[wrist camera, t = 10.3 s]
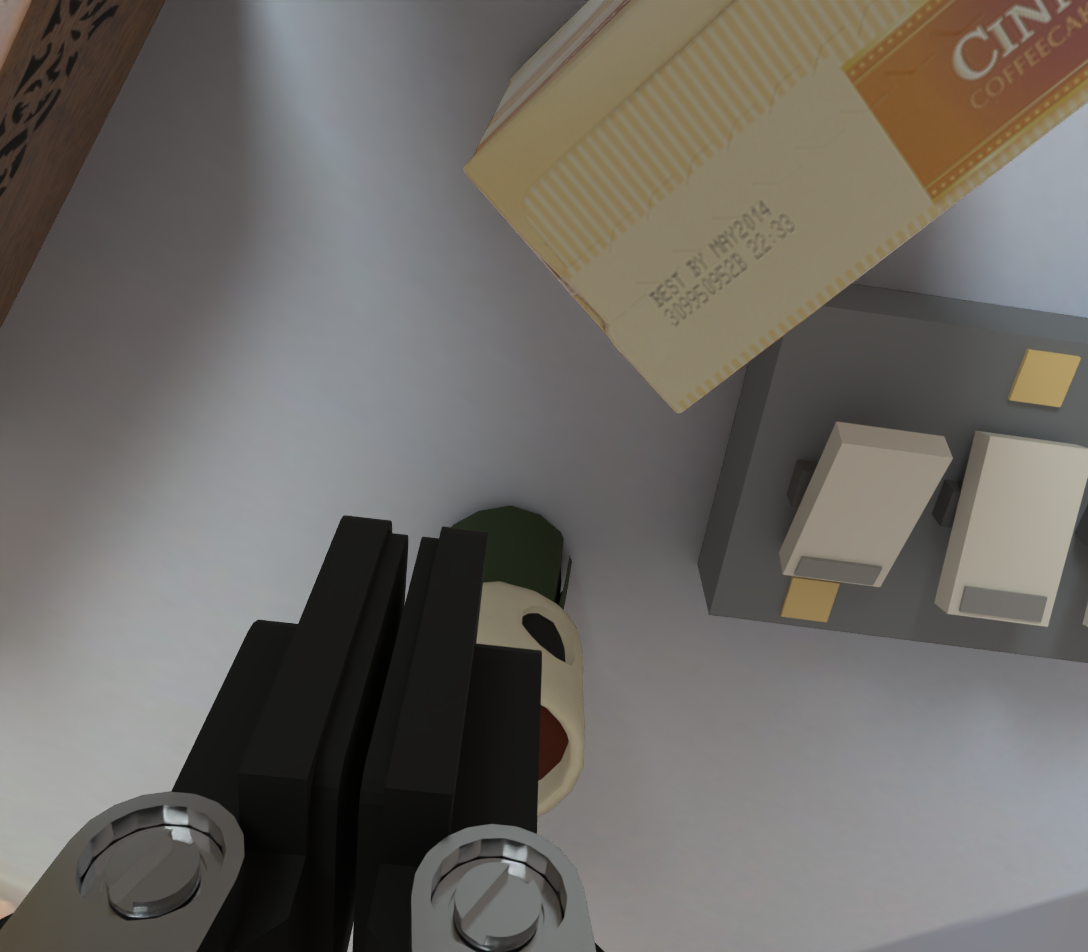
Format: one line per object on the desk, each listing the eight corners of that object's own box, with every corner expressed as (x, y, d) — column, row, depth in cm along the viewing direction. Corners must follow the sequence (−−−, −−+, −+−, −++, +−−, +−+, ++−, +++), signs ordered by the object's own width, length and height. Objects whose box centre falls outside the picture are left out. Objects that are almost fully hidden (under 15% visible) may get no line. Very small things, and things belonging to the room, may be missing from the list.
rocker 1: (836, 421, 34) (843, 445, 33) (944, 436, 34) (954, 460, 33) (778, 552, 39) (783, 577, 38) (874, 565, 39) (881, 590, 38)
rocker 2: (975, 430, 36) (992, 436, 35) (1076, 444, 36) (1097, 451, 35) (934, 603, 38) (949, 615, 36) (1031, 615, 38) (1049, 628, 37)
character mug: (610, 629, 46) (626, 842, 35) (473, 664, 48) (444, 882, 36) (539, 435, 42) (529, 607, 30) (389, 480, 43) (324, 662, 31)
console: (771, 272, 38) (798, 309, 34) (1247, 341, 39) (1335, 386, 35) (697, 564, 45) (712, 628, 40) (1108, 618, 46) (1167, 686, 41)
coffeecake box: (624, 225, 38) (675, 429, 20) (502, 78, 35) (440, 166, 18) (961, -64, 33) (1406, -120, 15) (847, -256, 30) (1220, -576, 13)
